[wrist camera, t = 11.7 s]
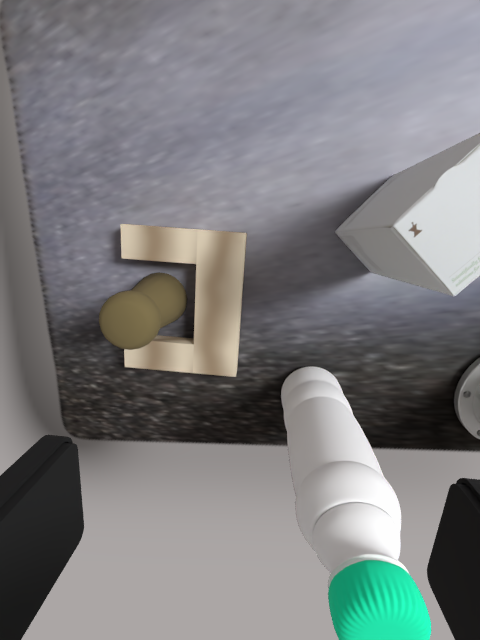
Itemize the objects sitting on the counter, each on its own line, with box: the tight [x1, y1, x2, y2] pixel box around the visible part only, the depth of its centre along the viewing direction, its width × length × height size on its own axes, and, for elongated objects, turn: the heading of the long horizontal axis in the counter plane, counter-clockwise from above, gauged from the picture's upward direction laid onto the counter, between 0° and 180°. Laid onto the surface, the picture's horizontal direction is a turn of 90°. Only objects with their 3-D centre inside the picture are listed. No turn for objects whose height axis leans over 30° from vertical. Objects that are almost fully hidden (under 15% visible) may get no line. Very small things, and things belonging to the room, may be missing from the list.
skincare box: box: [335, 133, 480, 296], centre depth 27 cm, size 8×7×16 cm
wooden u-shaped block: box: [121, 224, 247, 377], centre depth 37 cm, size 13×16×2 cm
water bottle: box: [281, 367, 431, 640], centre depth 28 cm, size 7×7×25 cm
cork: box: [99, 273, 187, 350], centre depth 32 cm, size 6×6×11 cm
